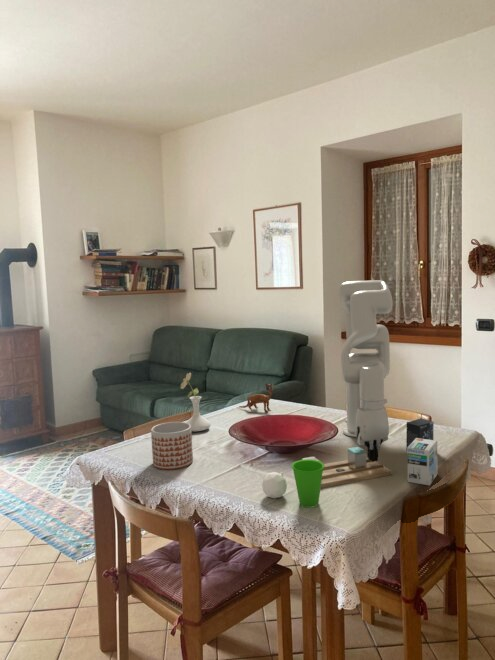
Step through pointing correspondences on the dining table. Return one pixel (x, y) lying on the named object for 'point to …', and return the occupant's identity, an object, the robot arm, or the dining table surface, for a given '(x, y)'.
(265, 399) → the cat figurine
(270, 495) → the ornament
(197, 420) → the flower in vase
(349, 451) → the block
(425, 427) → the box
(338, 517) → the dining table surface
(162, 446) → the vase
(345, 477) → the gauge board
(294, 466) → the cup
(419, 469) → the light bulb box
